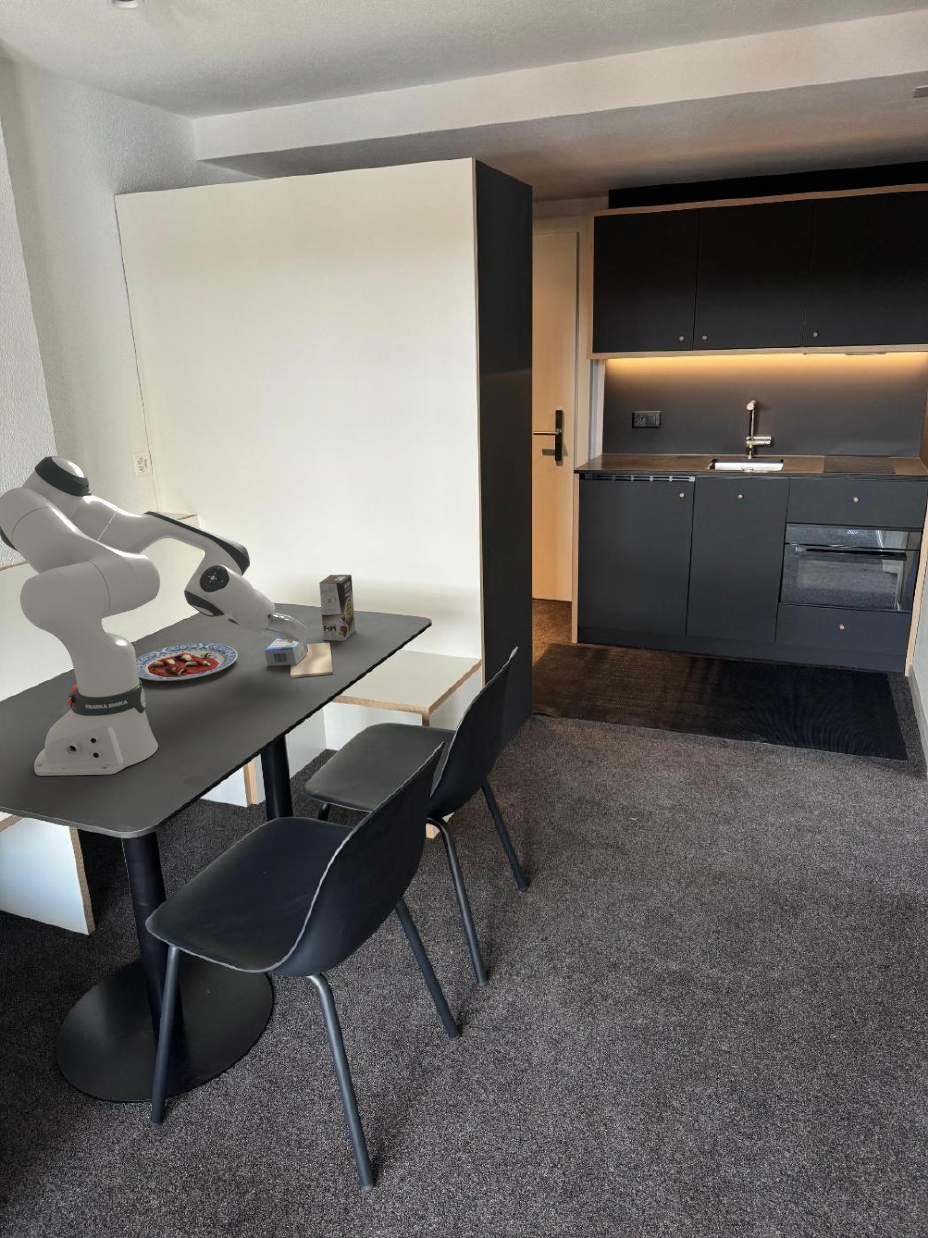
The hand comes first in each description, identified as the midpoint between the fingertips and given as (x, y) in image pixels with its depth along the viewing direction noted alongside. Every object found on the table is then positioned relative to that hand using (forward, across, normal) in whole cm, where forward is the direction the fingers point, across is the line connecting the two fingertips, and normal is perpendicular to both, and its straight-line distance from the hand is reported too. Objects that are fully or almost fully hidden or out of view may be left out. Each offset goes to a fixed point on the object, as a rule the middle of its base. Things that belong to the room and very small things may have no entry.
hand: (289, 639), depth 217 cm
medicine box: (0, 0, +5) cm, 5 cm away
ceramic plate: (-6, +22, +16) cm, 27 cm away
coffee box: (+21, +4, -12) cm, 24 cm away
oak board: (+8, -2, +1) cm, 8 cm away
